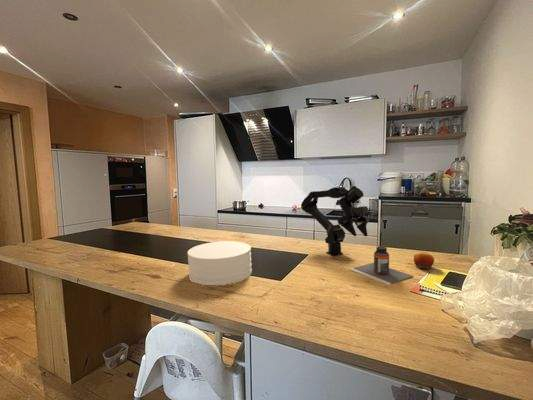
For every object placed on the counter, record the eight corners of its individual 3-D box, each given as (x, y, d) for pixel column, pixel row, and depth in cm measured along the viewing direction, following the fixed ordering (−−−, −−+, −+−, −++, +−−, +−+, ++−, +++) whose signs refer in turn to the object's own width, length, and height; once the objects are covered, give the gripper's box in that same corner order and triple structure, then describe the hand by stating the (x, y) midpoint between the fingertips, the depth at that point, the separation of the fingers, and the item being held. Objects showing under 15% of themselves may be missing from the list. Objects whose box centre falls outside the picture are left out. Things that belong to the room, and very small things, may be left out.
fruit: (413, 267, 118) (413, 249, 121) (413, 271, 124) (413, 254, 127) (435, 269, 114) (435, 251, 117) (433, 273, 121) (433, 256, 124)
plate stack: (241, 288, 106) (240, 260, 105) (176, 284, 112) (175, 257, 111) (257, 264, 133) (257, 241, 132) (205, 262, 139) (204, 240, 138)
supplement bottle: (372, 270, 119) (373, 245, 118) (387, 270, 118) (387, 245, 117) (375, 275, 113) (375, 248, 112) (390, 275, 112) (390, 249, 111)
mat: (349, 269, 121) (349, 268, 121) (373, 263, 129) (373, 262, 129) (388, 285, 104) (388, 284, 104) (413, 276, 111) (413, 275, 111)
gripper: (348, 197, 125) (363, 227, 117) (370, 201, 136) (385, 228, 129) (331, 210, 132) (344, 238, 124) (353, 212, 143) (366, 239, 136)
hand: (361, 236), depth 128 cm, fingers open, 9 cm apart
